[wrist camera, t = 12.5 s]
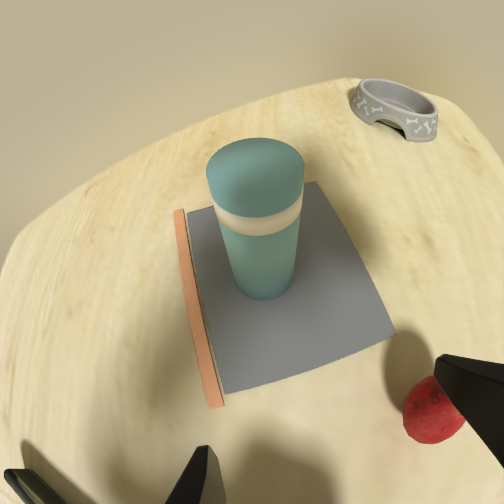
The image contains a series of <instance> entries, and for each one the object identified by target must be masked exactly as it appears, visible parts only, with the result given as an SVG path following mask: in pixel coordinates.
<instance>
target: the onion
mask: <svg viewBox="0 0 504 504" xmlns="http://www.w3.org/2000/svg"><path fill="white" fill-rule="evenodd" d="M465 420H466V419H465V418H464V417H463V416H462V415H461V414H460V412H459V411H458V410H457V409H456V408H455V406H454V405H453V404H452V403H451V401H450V400H449V398H448V397H447V395H446V394H445V392H444V391H443V389H442V388H441V387H440V385H439V384H438V382H437V381H436V379H435V377H434V376H429V377H427V378H425V379H424V380H422V381H421V382H420V383H418V384H417V385H416V386H414V387H413V389H412V390H411V392H410V393H409V395H408V397H407V398H406V400H405V404H404V409H403V426H404V428H405V429H406V431H407V433H408V435H409V436H410V437H412V438H413V439H414V440H416V441H417V442H419V443H423V444H436V443H439V442H441V441H444V440H446V439H448V438H450V437H451V436H453V435H454V434H455V433H456V432H457V431H458V430H459V429H460V428H461V427H462V426H463V424H464V422H465Z"/></svg>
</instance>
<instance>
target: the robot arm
mask: <svg viewBox="0 0 504 504" xmlns="http://www.w3.org/2000/svg"><path fill="white" fill-rule="evenodd" d="M434 377H435V379H436V381H437V382H438V384H439V385H440V387H441V388H442V389H443V391H444V392H445V394H446V395H447V397H448V398H449V400H450V401H451V403H452V404H453V405H454V406H455V408H456V409H457V410H458V411H459V412H460V414H461V415H462V416H463V417H464V418H465V419H466V421H467V422H468V423H469V424H470V426H471V427H472V428H473V429H474V430H475V432H476V433H477V434H478V435H479V437H480V438H481V439H482V440H483V442H484V443H485V444H486V446H487V447H488V448H489V449H490V451H491V452H492V453H493V455H494V456H495V457H496V458H497V460H498V461H499V463H500V464H501V465H502V467H503V468H504V364H500V363H494V362H488V361H482V360H476V359H470V358H465V357H459V356H454V355H449V354H443V355H441V356H439V357H438V358H437V359H436V361H435V367H434ZM165 504H226V498H225V491H224V486H223V481H222V477H221V472H220V467H219V462H218V458H217V456H216V455H215V453H214V452H213V450H212V449H211V447H210V446H209V445H203V446H198V447H197V448H196V450H195V452H194V453H193V455H192V457H191V459H190V461H189V462H188V464H187V466H186V468H185V469H184V471H183V473H182V475H181V477H180V478H179V480H178V482H177V483H176V485H175V487H174V489H173V490H172V492H171V494H170V495H169V497H168V499H167V501H166V502H165Z"/></svg>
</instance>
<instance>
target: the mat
mask: <svg viewBox="0 0 504 504" xmlns="http://www.w3.org/2000/svg"><path fill="white" fill-rule="evenodd" d="M187 219H188V225H189V231H190V237H191V243H192V249H193V254H194V260H195V265H196V270H197V276H198V281H199V286H200V291H201V296H202V300H203V305H204V310H205V314H206V319H207V323H208V328H209V332H210V337H211V341H212V345H213V349H214V353H215V358H216V362H217V366H218V370H219V373H220V377H221V381H222V385H223V389H224V392H225V394H229V393H234V392H238V391H242V390H246V389H250V388H253V387H257V386H261V385H264V384H268V383H271V382H275V381H278V380H281V379H285V378H288V377H291V376H294V375H297V374H300V373H303V372H306V371H309V370H312V369H315V368H317V367H320V366H323V365H326V364H328V363H331V362H334V361H336V360H339V359H341V358H344V357H346V356H349V355H351V354H354V353H356V352H358V351H361V350H363V349H365V348H368V347H370V346H372V345H374V344H377V343H379V342H381V341H383V340H385V339H387V338H389V337H392V336H394V335H395V334H397V333H396V331H395V328H394V326H393V324H392V322H391V319H390V317H389V315H388V313H387V311H386V308H385V306H384V304H383V302H382V300H381V298H380V296H379V294H378V292H377V289H376V287H375V285H374V283H373V281H372V279H371V277H370V275H369V273H368V271H367V269H366V268H365V266H364V264H363V262H362V260H361V258H360V256H359V254H358V252H357V250H356V249H355V247H354V245H353V243H352V241H351V240H350V238H349V236H348V234H347V232H346V231H345V229H344V227H343V225H342V224H341V222H340V220H339V218H338V217H337V215H336V213H335V212H334V210H333V208H332V207H331V205H330V203H329V202H328V200H327V198H326V197H325V195H324V193H323V192H322V190H321V189H320V187H319V185H318V184H317V182H311V183H307V184H304V188H303V199H302V207H301V211H300V221H299V231H298V240H297V249H296V258H295V266H294V274H293V280H292V283H291V285H290V287H289V288H288V290H287V291H286V292H285V293H284V294H282V295H281V296H279V297H277V298H275V299H272V300H265V301H261V300H255V299H252V298H250V297H248V296H246V295H244V294H243V293H242V292H241V291H240V290H239V288H238V287H237V285H236V282H235V279H234V275H233V272H232V268H231V265H230V261H229V257H228V254H227V250H226V247H225V243H224V240H223V236H222V232H221V229H220V225H219V221H218V218H217V215H216V213H215V209H214V206H212V207H209V208H205V209H201V210H198V211H194V212H191V213H187Z"/></svg>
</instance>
